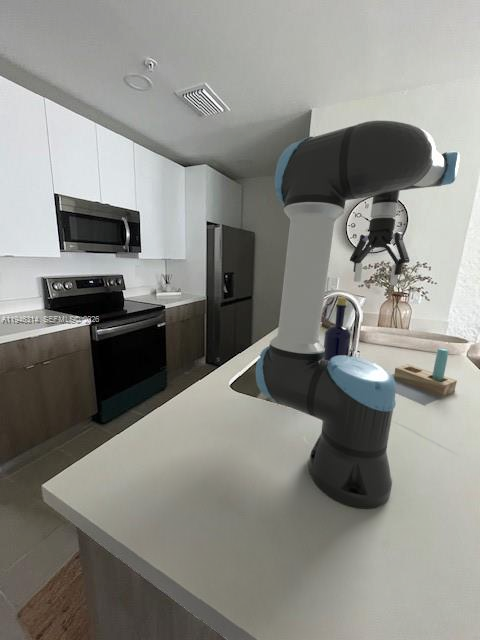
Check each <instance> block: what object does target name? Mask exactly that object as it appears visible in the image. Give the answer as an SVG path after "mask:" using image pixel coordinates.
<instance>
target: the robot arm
mask: <svg viewBox="0 0 480 640" xmlns="http://www.w3.org/2000/svg"><path fill="white" fill-rule="evenodd" d="M459 164H460V153H459V152H458V151H450V152H447V151H445V152H443V153H439V152H438V151H437V150H436V145H435V141H434V139H433V137H432V136H431V135H430V134H429V133H428V132H427V131H425V130H424V129H422V128H420V127H419V126H416V125H412V124H409V123H405V122H400V121H394V120H370V121H365V122H361V123H358V124H355V125H352V126H347V127H345V128H344V127H343V128H341V129H337V130H333V131H330V132H327V133H323V134H319V135H316V136H307V137H305V138H302V139H301V140H299V141H296V142H293V143H292V144H290V145H288V147H287V148H285V149H284V150H283V152H282V154H281V155H280V157H279V158H278V161H277V165H276V169H275V176H274V187H275V190H277V191H276V193H275V194H276V197H277V199H278V201H279V202H280V203H281V205H283V206H284V208H283V212H284V213H285V214H286V216H287V217H288V218H289V220H290V221H289V231H288V239H287V246H286V247H287V249H286V256H285V257H286V258H285V266H284V274H283V285H282V292H281V293H282V294H281V302H280V309H279V310H280V311H279V322H278V331H277V334H276V335H275V337H273V338H272V339H271V340H270V341H269V346H266V347H265V348H264V349H262V351H261V352H260V354H259V358H257V361H256V366H255V381H256V385H257V387H258V389H259V391H260V392H261V393H262V395H264V396H265V397H267V398H269V399H270V400H273V401H274V402H275V403H277V404H282V405H284V406H287V407H289V408H291V409H294V410H296V411H299V412H301V413H304V414H306V415H309V416H311V417H314V418H316V419H318V420H321V421H322V422H321V423H322V424H321V425H322V426H321V432H320V434H319V436H318V438H317V439H316V442H315V444H314V446H313V447H312V450H311V452H310V453H309V454H310V455H309V460H308V461H309V463H308V471H309V475H310V476H311V479H312V481H313V482H314V484H315V485H316V486H317V487H318V488H319V490H321V491H322V492H323V493H324V494H325V495H327V496H328V497H330V498H331V499H333V500H334V501H336V502H338V503H341V504H343V505H346V506H349V507H352V508H357V509H373V508H374V509H375V508H377V507H380V506H382V505H384V504H386V502H387V501H388V500H389V499H390V496H391V493H392V492H391V490H392V486H393V478H392V477H393V476H392V474H391V470H390V465H389V464H390V463H389V459H388V454H387V448H388V444H389V443H388V442H389V438H390V437H389V435H390V430H391V425H392V418H393V414H394V410H395V407H396V405H397V404H396V394H397V393H396V383H395V380H394V378H393V377H392V376H391V375H392V374H391V373H390V372H388V371H387V369H385V368H384V367H382V366H381V365H378V364H376V363H374V362H372V361H370V360H367V359H364V358H361V357H357V356H353V355H352V356H350V355H349V356H346V355H339V356H334V357H332V358H331V359H330V361H328V360H325V359H324V352H325V348H324V344H322V343H321V341H320V340H319V338H320V332H321V323H322V316H323V310H324V309H323V308H324V302H325V294H326V289H327V288H326V287H327V279H328V272H329V263H330V257H331V249H332V243H333V236H334V235H333V234H334V228H335V227H334V226H335V222H336V221H337V220H338V219H339V218H340V217H341V216H342V215H344V212H345V209H346V202H347V201H350V200H359V199H364V198H369V197H372V203H371V209H370V210H371V211H370V217H369V218H370V220H369V224H368V225H369V226H368V232H369V234H361V235H360V236H359V240H358V243H357V245H356V247H355V249H354V250H353V252H352V254H351V256H350V257H349V262H351V263H353V273H354V276H353V277H354V278H353V282H354V283H355V282H361V280H362V279H361V278H362V269H363V263H362V261H363V260H364V259H365V258H366V257H367V256H368V255H369V254H370V252H371V251H372V250H373V249H375V248H376V249H377V248H380V249H381V248H383V249H385V250H386V251H387V253H388V254H389V256H390V257H391V259H392V261H393V262H394V264H392V266H391V273H390V280H389V286H397V284H398V278H399V276H401V274H402V268H403V265H404V264H407V263H410V258H409V254H408V251H407V249H406V245H405V241H404V233H403V232H399V231H397V232H395V233H394V230H395V225H396V219H395V217H397V211H398V204H399V198H400V191H406V190H414V189H423V188H424V189H425V188H434V187H441V186H442V187H443V186H445V185H446V186H447V185H451V184H453V183H455V181H456V178H457V175H458V170H459ZM392 240H394V243H395V246H396V249H397V250H396V249H395V247H394V244H393V243H392Z"/></svg>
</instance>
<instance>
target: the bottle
mask: <svg viewBox="0 0 480 640" xmlns="http://www.w3.org/2000/svg"><path fill="white" fill-rule="evenodd" d="M336 302H337V303H336V305H335V308H336V312H335V324H334V325H331V326H330V327H329V328H328V329H327V330H326V331H325V332H324V340H323V347H324V348H325V352H324V359H325V360H328V361H330V359H331V358H332V357H334V356H339V355H346V356H349V357H350V349H351V342H352V332H351V331H350V329H349V328H348V327H346V326H344V322H345V321H344V320H345V312H346V309H347V297H342V296H338V297H337V301H336Z"/></svg>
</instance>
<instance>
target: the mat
mask: <svg viewBox="0 0 480 640" xmlns="http://www.w3.org/2000/svg"><path fill="white" fill-rule="evenodd" d="M391 376H392V377H393V378H394V373H393V374H391ZM394 380H395V383H396V393H395V394H396V395H399V396H402V397H404V398H407V399H408V400H411V401H412V402H415V403H417V404H420V405H423V406H426V405H427V406H428V405H429V404H431V403H433V402H435V401H437V400H440V399H441V398H443V397H441V396H439V395H436V394H434V393H431V392H428V391H426V390H423V389H421V388H418V387H416V386H413V385H411V384H408V383H406V382H403V381H400V380H398V379H395V378H394ZM451 394H452V393H450V394H448V395H447V396H449V395H451Z"/></svg>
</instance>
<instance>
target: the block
mask: <svg viewBox="0 0 480 640" xmlns="http://www.w3.org/2000/svg"><path fill="white" fill-rule="evenodd" d="M393 374H394V378H395V379H398V380H400V381H403V382H406V383H408V384H411V385H413V386H416V387H418V388H421V389H423V390H426V391H428V392H431V393H434V394H436V395H439V396H441V397H442V398H444V397H447V396H449V395H451V394H453V393H455V392H456V386H457V381H458V380H456V379H454V378H451V377H448V376H445V375H444V377H443V382H440V381H437V380H434V379H432V375H433V371H429V370H428V369H427V370H426V369H423V368H421V367H417V366H414V365H413V364H412V365H411V364H409V363H407V364H403V365H401V366H396V367H395V368H394V373H393ZM450 393H451V394H450ZM448 394H449V395H448Z"/></svg>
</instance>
